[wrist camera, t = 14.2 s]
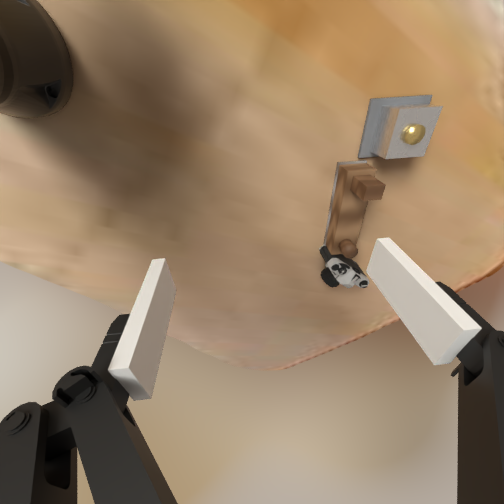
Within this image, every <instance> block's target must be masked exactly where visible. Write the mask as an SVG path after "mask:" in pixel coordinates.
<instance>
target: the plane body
mask: <svg viewBox="0 0 504 504" xmlns="http://www.w3.org/2000/svg"><path fill="white" fill-rule="evenodd" d="M376 170H377V169H375V168H373V167H372V166H370V165H368V164H367V161H366V160H363V161H349V162H337V168H336V174H335V180H334V185H333V191H332V197H331V203H330V209H329V215H328V221H327V227H326V233H325V239H324V246H327V248H328V250H329V251H330V253H331V255H335V254H343V255H344V256H345V257H346V258H353V257H355V256H356V255H357V253H358V249H357V248H356V243H357V240H358V236H359V232H360V229H361V225H362V222H363V218H364V214H365V211H366V207H367V203H368V200H380V199H382V195H383V192H384V189H385V186H386V185H385V184H383V183H382V182H380V181H379V180H377V179H376V178H375V174H376Z"/></svg>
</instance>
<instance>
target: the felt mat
mask: <svg viewBox="0 0 504 504" xmlns="http://www.w3.org/2000/svg"><path fill="white" fill-rule="evenodd" d="M431 98H432V95H422V96H406V97H390V98H375V99H370V103H369V107H368V112H367V117H366V121H365V126H364V130H363V135H362V140H361V144H360V149H359V153H358V158H365V157H378V155H376V154H374V153H372V152H370V151H371V146H372V142H373V138H374V134H375V130H376V126H377V122H378V118H379V114H380V110H381V106H387V105H402V104H418V103H421V104H430V101H431Z"/></svg>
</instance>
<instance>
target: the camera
mask: <svg viewBox="0 0 504 504" xmlns="http://www.w3.org/2000/svg"><path fill="white" fill-rule="evenodd" d="M319 250H320V253H321V255H322V256H323V258H324V260H325V262H326V263H325V266H326V268H325V269H324V270H323V271H322V272H321V277H322V279H323V280H324V282H325V283H326V284H327V285H329V286H330V287H337V286H338V285H339V283H340V284H342V285H343V286H345V287H347V288H350V287H353V286H354V285H357V286H358V287H360V288H366V287H367V286H368V284H369V280H368V278H367V277H366V275H365V274H364V273H363V271H362V270H361V269H360V267H359V266H358V264H357V263H356V262H355V261H353V260H352V259H350V258H346V257H345V256H344V255H343V254H335V255H331V253H330V251H329V250H328V248H327V246H324V245H323V246H321V247H320V248H319Z"/></svg>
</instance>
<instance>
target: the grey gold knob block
mask: <svg viewBox="0 0 504 504" xmlns="http://www.w3.org/2000/svg"><path fill="white" fill-rule="evenodd" d="M442 107H443V106H437V105H429V104H421V103H418V104H402V105H387V106H381V110H380V114H379V118H378V122H377V126H376V130H375V134H374V138H373V142H372V146H371V151H370V152H372V153H374V154H376V155H378V156H380V157H382V158H384V159H395V158H408V157H421V156H424V154H425V152H426V149H427V147H428V144H429V141H430V139H431V136H432V133H433V131H434V128H435V126H436V123H437V120H438V118H439V115H440V112H441V110H442Z"/></svg>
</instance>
